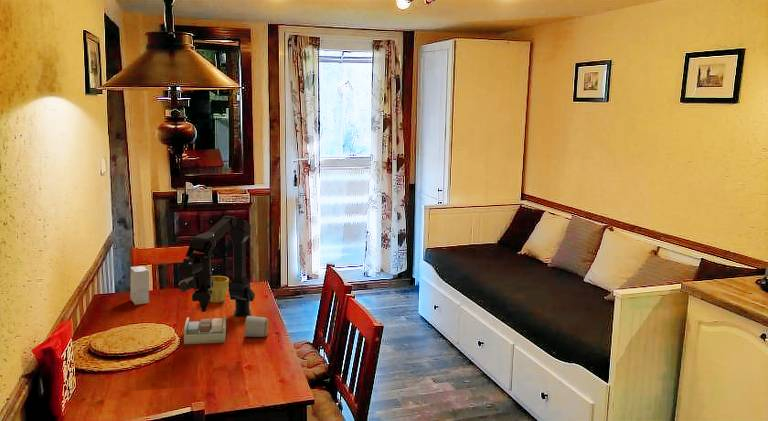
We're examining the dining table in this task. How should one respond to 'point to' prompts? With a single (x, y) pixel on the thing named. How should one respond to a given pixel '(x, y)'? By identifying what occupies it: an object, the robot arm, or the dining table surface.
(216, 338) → the key bed
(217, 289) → the plant pot
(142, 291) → the skincare box
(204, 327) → the brown rectangular block
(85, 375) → the dining table surface
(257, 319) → the ceramic mug
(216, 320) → the ivory key
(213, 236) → the robot arm
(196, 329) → the grey flat block
